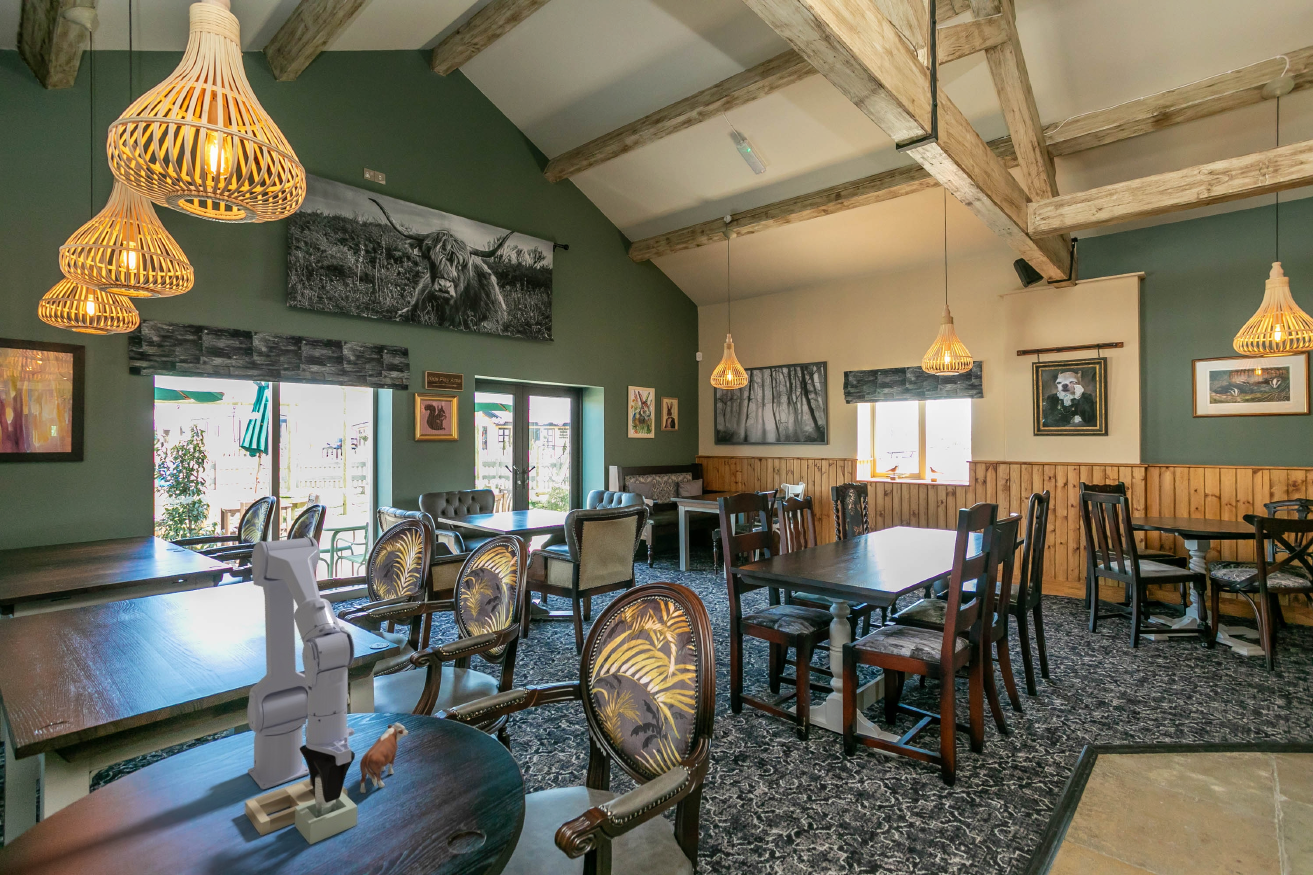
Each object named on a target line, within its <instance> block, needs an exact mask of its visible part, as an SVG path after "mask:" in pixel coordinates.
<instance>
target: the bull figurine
mask: <svg viewBox="0 0 1313 875" xmlns="http://www.w3.org/2000/svg"><path fill="white" fill-rule="evenodd" d="M408 735H409V731H408V730H407V729H406V727H405V726H404V725H402V724H401V723H400V722H395V723H394V724H393V725H392V724H388V725H387V729H386V730H385V731H384V733H383V734H382V735H381V736H380V737H379V738H378V739H377V740H376V741H375V743H374V744H372V746H371V747H369V749H368V750H367V751H366V752H364V753H365V754H363V756H362V758H361V760H360V764H359V768H360V772H361V773H360V774H361V779H360V780H359V783H360V789H359V792H360V794H365V793H366V792H367V790H366V788H365V787H366V786H365V783H366V781H367V780H366V779H367V776H368V778H369V779H371V782H372V784H373V786H374V787H378V788H384V787H385V786H386V785H385V783H384V782H383V780H382V775H381V774H382V772H385V771H386V770H385V769H386V766H388V770H387V775H390V774H393V773H394V774H395V772H394V769H393V765H394V764H395V759H396V755H397V751H398V742H399V741H400V740H401V739H402V738H403V737H408ZM384 770H385V771H384ZM394 774H393V775H394Z"/></svg>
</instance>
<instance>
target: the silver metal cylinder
mask: <svg viewBox="0 0 1313 875" xmlns="http://www.w3.org/2000/svg"><path fill="white" fill-rule="evenodd" d="M334 811H336V800H333V801H330V802H328V803H326V802H325V800H324V797H323V791H322V783H321V778H320V774H318V775H317V776H316V777H315V818H319V817H321V816H324V815H326V814H329V813H331V812H334Z"/></svg>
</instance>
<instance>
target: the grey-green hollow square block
mask: <svg viewBox="0 0 1313 875" xmlns="http://www.w3.org/2000/svg"><path fill="white" fill-rule="evenodd" d="M357 825H358V805H357V804H355V802H354V801H352V799H350V797H348V795H347V796H346V795H345V794H344V793H343V792H342V791H341V795H340V798H338V799H336V811H334V812H331V813H329V814H326V815H324V816H321V817H319V818H315V800H313V801H310V802H308V803H305V804H303V805H300V806H297V807H295V823H294V826H295V828H296V829H297V830H298V832H299V833H300V834H301V835H302V837H303V838H304V839H305V840H306V841H307V843H308V844H309V845H313V844H315V843H317V842H320V841H323V840H324V839H325V840H326V839H327V838H330V837H332V836H334V835H337V834H339V833H342V832H344V831H346V830H349V829H351V828H354V827H355V826H357Z"/></svg>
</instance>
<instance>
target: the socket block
mask: <svg viewBox="0 0 1313 875" xmlns="http://www.w3.org/2000/svg"><path fill="white" fill-rule="evenodd" d="M342 792H343V793H344V794H345V795H346V796H347V797H348V789H347V788H346V787H345V786H343V788H342ZM313 800H315V797H314V796H313V786H311V785H310V778H307V779H304V780H301V781H299V782H296V783H293V784H290V785H287V786H284V787H282V788H281V787H280V788H278V789H276V790H273V791H270V792H268V793H265V794H264V793H263V794H261V795H258V796H256V797H253V798H250V799H247V800H245V802H244V805H245V806H244V813H245V815H246V816H247V818H248V819H249V821H250V822H251V824H252V825H253V827H254V828H255V829H256V831H257V832H258V834H259V835H260V836H264V835H267V834H269V833H272V832H275V831H277V830H279V829H283V828H284V827H287V826H290V825H293V824H295V807H297V806H300V805H303V804H305V803H308V802H310V801H313ZM289 807H290V808H289ZM286 808H287V809H286ZM284 809H285V810H284ZM278 811H279V812H278ZM275 812H276V813H275ZM270 814H271V815H270Z"/></svg>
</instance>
